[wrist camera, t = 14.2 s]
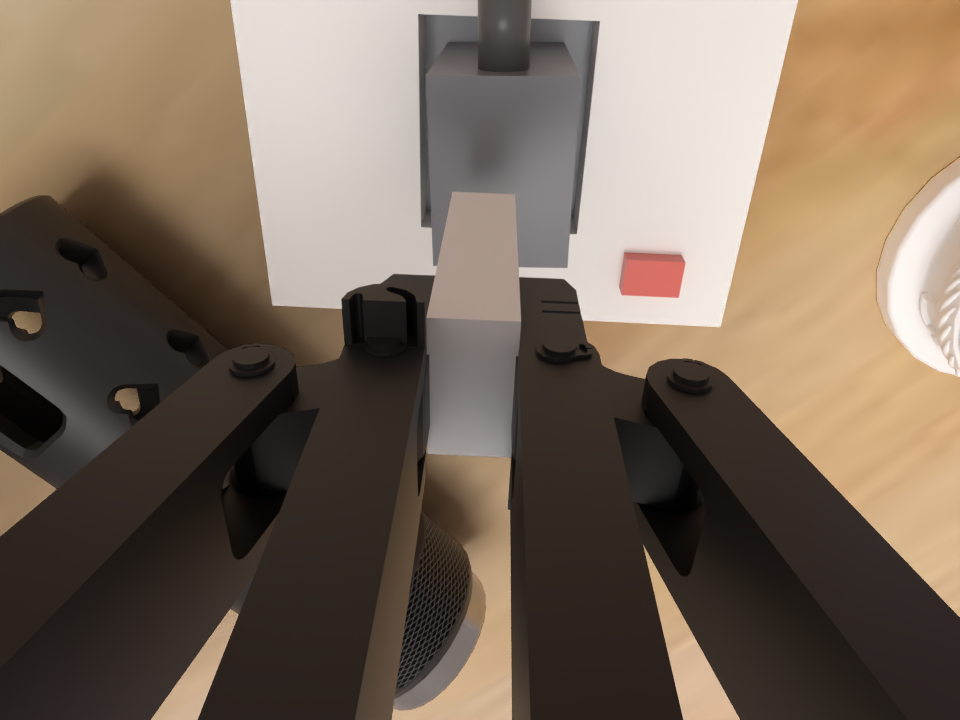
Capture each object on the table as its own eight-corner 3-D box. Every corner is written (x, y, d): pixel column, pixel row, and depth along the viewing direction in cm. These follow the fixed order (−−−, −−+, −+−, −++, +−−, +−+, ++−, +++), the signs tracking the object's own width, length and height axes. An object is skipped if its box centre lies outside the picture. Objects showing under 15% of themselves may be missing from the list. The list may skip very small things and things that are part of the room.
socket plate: (288, 282, 33) (266, 313, 31) (238, -123, 25) (203, -131, 22) (706, 301, 33) (725, 335, 30) (797, -104, 25) (833, -109, 22)
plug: (555, 193, 30) (567, 268, 23) (451, 192, 30) (433, 265, 23) (568, -29, 26) (587, -18, 19) (446, -29, 26) (422, -19, 19)
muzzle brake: (99, 156, 31) (-69, 243, 22) (500, 524, 41) (496, 684, 32) (-10, 281, 34) (-193, 399, 25) (385, 591, 45) (353, 752, 36)
